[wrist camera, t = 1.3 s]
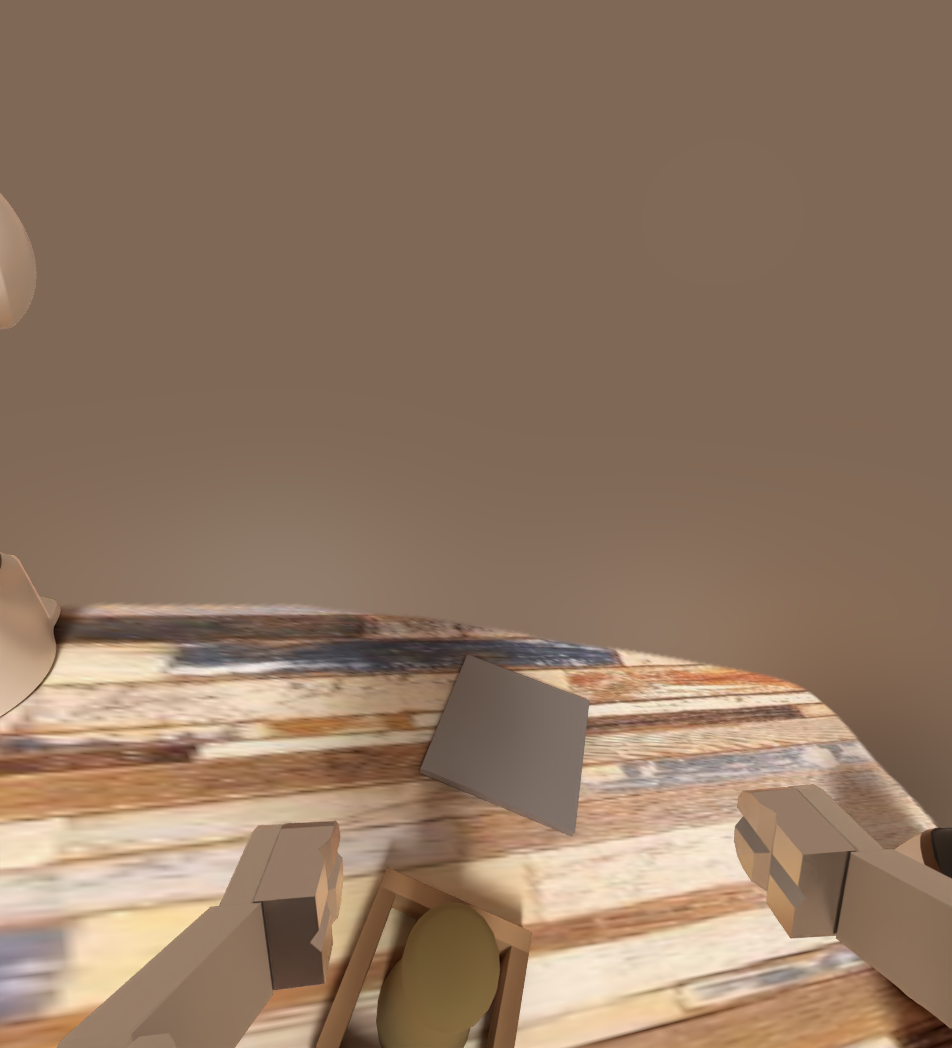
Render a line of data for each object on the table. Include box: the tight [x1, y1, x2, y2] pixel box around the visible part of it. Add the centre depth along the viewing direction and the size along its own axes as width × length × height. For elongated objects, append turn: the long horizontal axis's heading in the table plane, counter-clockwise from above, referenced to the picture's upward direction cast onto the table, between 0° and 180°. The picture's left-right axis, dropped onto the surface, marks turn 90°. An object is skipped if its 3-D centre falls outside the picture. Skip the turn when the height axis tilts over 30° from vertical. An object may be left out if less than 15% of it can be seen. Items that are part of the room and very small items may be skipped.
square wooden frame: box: [315, 867, 532, 1048], centre depth 31 cm, size 11×11×2 cm
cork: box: [376, 902, 500, 1048], centre depth 28 cm, size 6×6×11 cm
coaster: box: [419, 654, 589, 836], centre depth 48 cm, size 14×14×1 cm
